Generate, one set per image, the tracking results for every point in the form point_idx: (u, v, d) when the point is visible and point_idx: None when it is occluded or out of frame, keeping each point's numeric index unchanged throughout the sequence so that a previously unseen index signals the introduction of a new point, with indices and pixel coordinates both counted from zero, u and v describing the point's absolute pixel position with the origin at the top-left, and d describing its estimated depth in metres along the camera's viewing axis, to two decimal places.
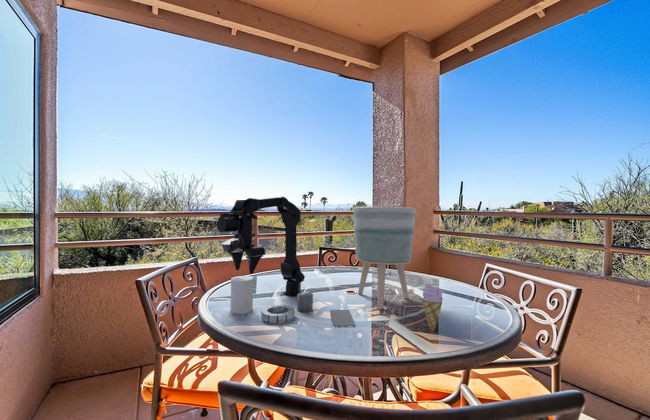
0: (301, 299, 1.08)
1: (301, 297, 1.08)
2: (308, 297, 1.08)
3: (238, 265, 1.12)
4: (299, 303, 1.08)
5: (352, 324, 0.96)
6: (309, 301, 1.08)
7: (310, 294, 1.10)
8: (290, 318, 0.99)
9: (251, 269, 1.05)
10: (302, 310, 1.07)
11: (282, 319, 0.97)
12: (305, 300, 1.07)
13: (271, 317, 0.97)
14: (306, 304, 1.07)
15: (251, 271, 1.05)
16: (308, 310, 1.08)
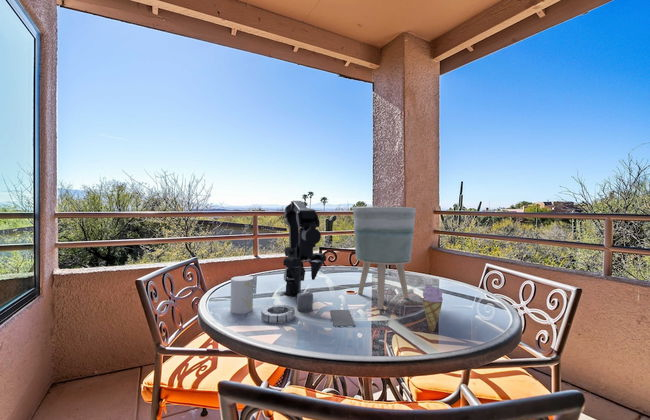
0: (301, 299, 1.08)
1: (301, 297, 1.08)
2: (308, 297, 1.08)
3: (313, 275, 1.14)
4: (299, 303, 1.08)
5: (352, 324, 0.96)
6: (309, 301, 1.08)
7: (310, 294, 1.10)
8: (290, 318, 0.99)
9: (294, 279, 1.06)
10: (302, 310, 1.07)
11: (282, 319, 0.97)
12: (305, 300, 1.07)
13: (271, 317, 0.97)
14: (306, 304, 1.07)
15: (295, 281, 1.07)
16: (308, 310, 1.08)
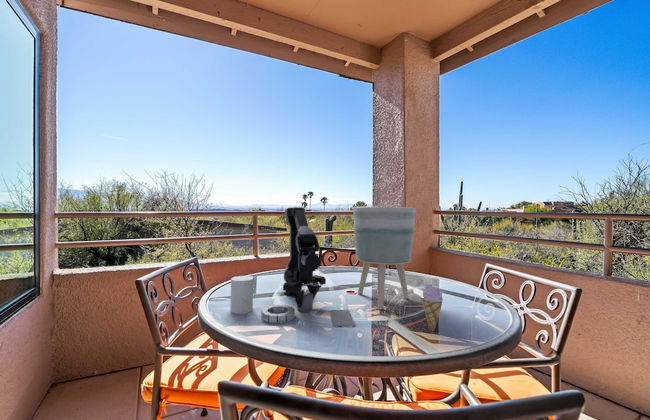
0: None
1: None
2: (308, 297, 1.08)
3: None
4: None
5: (352, 324, 0.96)
6: (309, 301, 1.08)
7: (310, 294, 1.10)
8: (290, 318, 0.99)
9: (297, 302, 1.07)
10: (302, 310, 1.07)
11: (282, 319, 0.97)
12: (305, 300, 1.07)
13: (271, 317, 0.97)
14: (306, 304, 1.07)
15: (298, 305, 1.08)
16: (308, 310, 1.08)
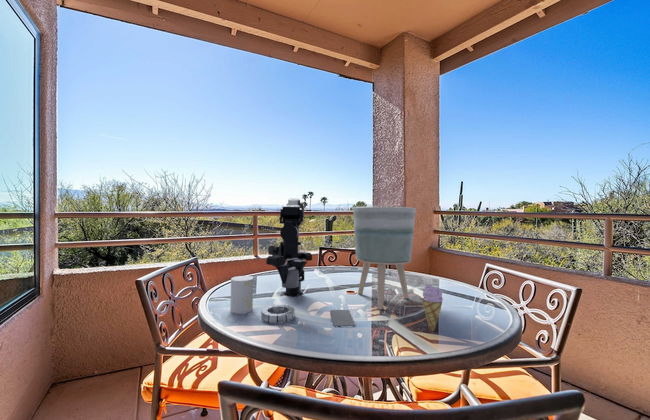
0: None
1: None
2: (293, 272, 1.02)
3: None
4: None
5: (352, 324, 0.96)
6: (294, 276, 1.03)
7: (296, 269, 1.05)
8: (290, 318, 0.99)
9: (281, 278, 1.02)
10: (287, 286, 1.02)
11: (282, 319, 0.97)
12: (290, 275, 1.02)
13: (271, 317, 0.97)
14: (291, 279, 1.02)
15: (282, 280, 1.02)
16: (293, 286, 1.02)
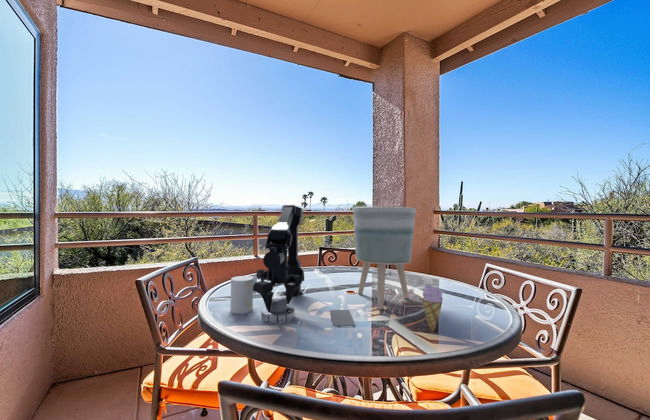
0: (273, 306, 0.99)
1: (273, 304, 0.99)
2: (281, 304, 1.00)
3: (288, 299, 1.05)
4: (271, 310, 1.00)
5: (352, 324, 0.96)
6: (282, 308, 1.00)
7: (284, 300, 1.02)
8: (290, 318, 0.99)
9: (266, 305, 0.98)
10: None
11: (282, 319, 0.97)
12: (277, 307, 0.99)
13: (271, 317, 0.97)
14: (279, 311, 0.99)
15: (266, 307, 0.98)
16: None
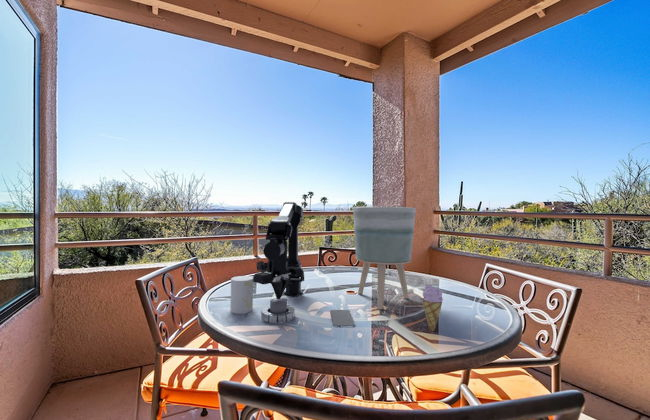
0: (273, 306, 0.99)
1: (273, 304, 0.99)
2: (281, 304, 1.00)
3: None
4: (271, 310, 1.00)
5: (352, 324, 0.96)
6: (282, 308, 1.00)
7: (284, 300, 1.02)
8: (290, 318, 0.99)
9: (275, 293, 1.02)
10: None
11: (282, 319, 0.97)
12: (277, 307, 0.99)
13: (271, 317, 0.97)
14: (279, 311, 0.99)
15: (276, 296, 1.02)
16: None
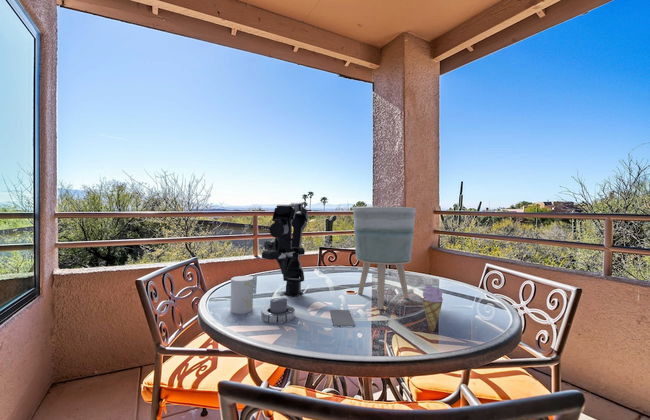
0: (273, 306, 0.99)
1: (273, 304, 0.99)
2: (281, 304, 1.00)
3: None
4: (271, 310, 1.00)
5: (352, 324, 0.96)
6: (282, 308, 1.00)
7: (284, 300, 1.02)
8: (290, 318, 0.99)
9: (281, 269, 1.14)
10: None
11: (282, 319, 0.97)
12: (277, 307, 0.99)
13: (271, 317, 0.97)
14: (279, 311, 0.99)
15: (282, 272, 1.15)
16: None
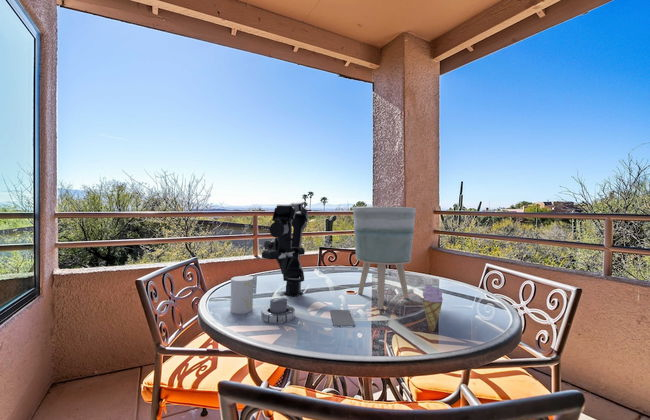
0: (273, 306, 0.99)
1: (273, 304, 0.99)
2: (281, 304, 1.00)
3: None
4: (271, 310, 1.00)
5: (352, 324, 0.96)
6: (282, 308, 1.00)
7: (284, 300, 1.02)
8: (290, 318, 0.99)
9: (281, 269, 1.14)
10: None
11: (282, 319, 0.97)
12: (277, 307, 0.99)
13: (271, 317, 0.97)
14: (279, 311, 0.99)
15: (282, 271, 1.15)
16: None
